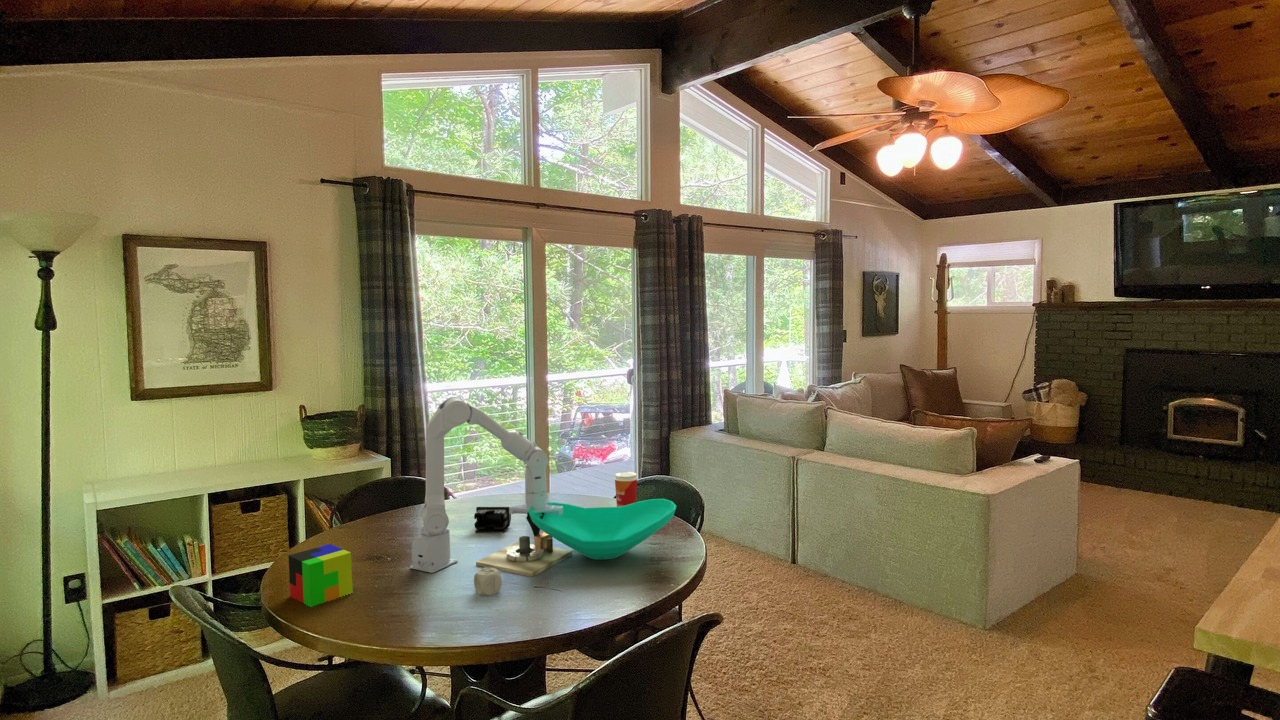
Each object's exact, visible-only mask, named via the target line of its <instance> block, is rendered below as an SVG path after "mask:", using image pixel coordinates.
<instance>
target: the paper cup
mask: <svg viewBox="0 0 1280 720" xmlns="http://www.w3.org/2000/svg"><path fill="white" fill-rule="evenodd" d="M638 479H639V476H638V474H637V473H636V472H635V471H634V472H633V471H622V472H617V473H615V475H614V477H613V480H614V485H615V486H614V487H615V500H616V507H622V506H625V505H629V504H632V503H635V502H637V489H638V488H637V487H638Z"/></svg>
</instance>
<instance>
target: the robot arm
mask: <svg viewBox="0 0 1280 720" xmlns="http://www.w3.org/2000/svg"><path fill="white" fill-rule="evenodd" d="M465 423H467V425H478V426H480V427H482V428H483V429H484V430H485V431H487V432H489V433H490V434H491V435H493V436H494V437H496V438H498V439H499V440H500V442H501V448H503V450H505V451H506V452H508V453H509V454H511V455H512V456H514V457H515V458H516V459H518V461H522V462H523V463H524V465H525V467H524V468H525V470H524V471H525V475H524V481H525V482H524V487H525V489H524V490H525V491H524V493H525V495H524V496H525V504H515V505H512V504H511V505H509V506H508V507H509V512H510V514H511V515H515V514H517V515H518V514H519V515H520V514H521V515H523V514H526V517H525V518H526V520H527V522H528V525H529V526H530V528H531V532H532V535H533V537H534V536H536V535H538V534H540V531H541V529H540V528H538V527H537V526H536V525H535V524H534V523H533V522H532V520H531V517H530V515H529V511H528V510H529V509H530V508H531V507H532V506H533V508H534V510H533V512H534V513H538V512H542V513H541V514H542V516H540V518H541V519H543V517H544V514H558V515H562V514H563V506H555V505H547V473H546V472H547V471H546V468H547V466H548V464H549V459H548V455H547V453H546V452H545V451H544V450H542V448H540V447H539V445H537V443H536V442H534V441H533V442H532V441H531V440H529V439H528V438H526V437H525V436H524V433H523V432H522V431H521V430H515V429H512V430H507V429H506V428H505V427H503V426H502V425H501V424H500V423H498V422H497V421H495V420H494V419H493V418H492V417H491V416H489V415H488V414H487V413H485V412H484V411H483V410H482V409H481V408H478V407H477V406H475V405H473V404H471V403H470V402H465V400H464V399H463V398H461V397H458V396H450V397H448V398H447V399H446V400H444V401H443V402H441V403H440V404H439V405H438V407H437V409H436V411H435V412H434V414H433V415H432V417H431V418H430V420H429V421H428V423H427V424H426V425H425V426H426V427H425V496H424V506H423V507H422V510H421V511H420V515H421V519H422V522H423V523H422V524H423V526H422V528H420V533H419V535H418V536H417V537H416V538H414V539H413V541H412V544H411V563H412V564H411V565H410V566H409V568H410V569H413V570H417V571H421V572H426V573H431V574H433V573H436V572H439V571H441V570H442V569H445V568H446V567H449V566H451V565H453V564H455V563H457V562H458V559H457V558H453V557H451V542H450V541H451V537H450V527H449V523H450V519H449V516H448V514H447V513H446V501H445V436H446V435H447V434H448V433H450V432H451V431H452V430H453V429H454V428H457V427H459V426H461V425H464V424H465ZM533 539H534V538H533ZM534 541H535V539H534Z"/></svg>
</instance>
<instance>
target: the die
mask: <svg viewBox="0 0 1280 720" xmlns="http://www.w3.org/2000/svg"><path fill="white" fill-rule="evenodd" d="M502 584H503V581H502V575H501V573H500V570H497V569H496V568H486V567H482V568H480V569H478V570H477V571H476V572H475V574H474V576H473V586H474V587H473V588H474V589H475V592H476V594H478V595H480V596H484V597H485V596H486V597H489V596H494V595H496V594H497V593H499V591H500V590H501V588H502Z"/></svg>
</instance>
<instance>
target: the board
mask: <svg viewBox="0 0 1280 720" xmlns="http://www.w3.org/2000/svg"><path fill="white" fill-rule="evenodd" d="M518 545H519V550H520V553H519V554H527V553H532V552H530V545H535V543H532V542H531V536H528V535H522V536H519V537H518V541H515V543H512V544H511V545H508V546H506V547H504V548H502V549H500V550H497V551H496V552H493V553H491V554H489V555H487V556H485V557H483V558H481V559H479V560H477V561H475V566H477V567H480V568H481V567H482V568H496V569H497V570H498V571H501V572H507V573H511V574H515V575H522V576H527V577H530V578H533V577H535V576H537V575H538V574H540V573H542V572H543V571H546V570H547V569H549V568H551V567H553V566H554V565H556V564H557V563H559V562H562V561H563V560H565V559H566V558H568V557H570V556H572V555H573V550H572V549H571V550H570V549H565V548H557V547H554V546H553V552H551V553H548V552H547V549H545V550H544V555H543V556H542V557H540V558H539V559H538V558H537V559H536V560H532V561H517V560H516V561H512V560H509V559H507V556H506V551H507V550H508V549H509V548H511V547H514V546H518Z"/></svg>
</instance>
